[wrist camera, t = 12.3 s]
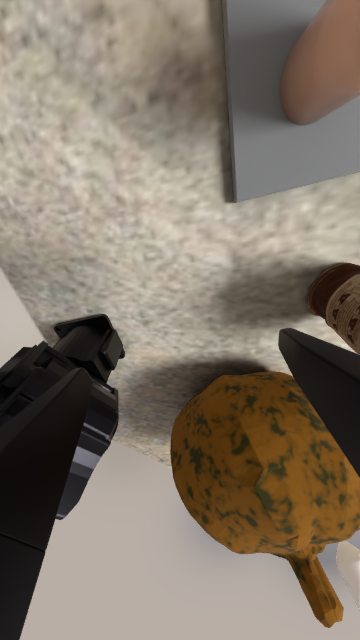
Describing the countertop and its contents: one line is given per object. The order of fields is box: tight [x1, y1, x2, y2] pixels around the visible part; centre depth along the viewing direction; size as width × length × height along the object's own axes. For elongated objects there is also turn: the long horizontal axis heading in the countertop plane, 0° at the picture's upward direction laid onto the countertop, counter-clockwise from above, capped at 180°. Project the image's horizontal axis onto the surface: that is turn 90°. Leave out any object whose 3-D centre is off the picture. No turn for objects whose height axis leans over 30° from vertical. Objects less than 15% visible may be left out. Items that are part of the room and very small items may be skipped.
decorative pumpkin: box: [170, 372, 360, 628], centre depth 22 cm, size 20×21×20 cm
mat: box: [222, 0, 360, 203], centre depth 13 cm, size 11×12×1 cm
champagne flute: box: [336, 540, 360, 610], centre depth 40 cm, size 7×7×24 cm
